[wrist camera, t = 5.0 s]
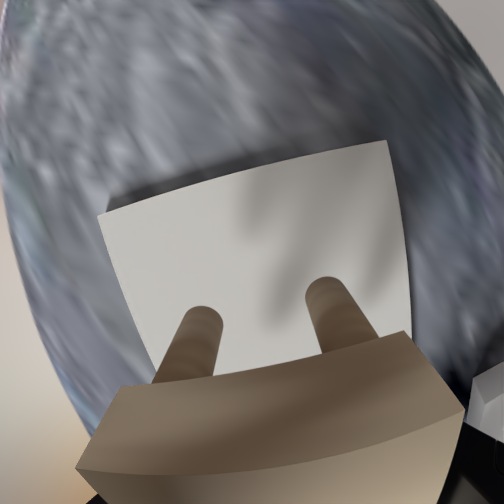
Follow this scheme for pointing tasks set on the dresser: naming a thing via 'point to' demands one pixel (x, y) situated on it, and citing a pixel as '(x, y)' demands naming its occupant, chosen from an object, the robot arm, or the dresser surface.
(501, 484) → the robot arm
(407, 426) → the tan pegged block
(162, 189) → the dresser surface
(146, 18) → the dresser surface
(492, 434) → the figurine
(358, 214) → the mat
